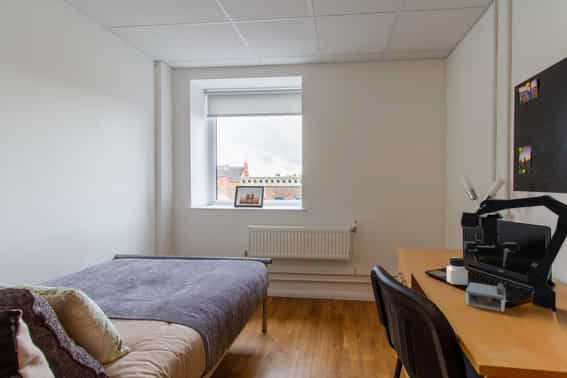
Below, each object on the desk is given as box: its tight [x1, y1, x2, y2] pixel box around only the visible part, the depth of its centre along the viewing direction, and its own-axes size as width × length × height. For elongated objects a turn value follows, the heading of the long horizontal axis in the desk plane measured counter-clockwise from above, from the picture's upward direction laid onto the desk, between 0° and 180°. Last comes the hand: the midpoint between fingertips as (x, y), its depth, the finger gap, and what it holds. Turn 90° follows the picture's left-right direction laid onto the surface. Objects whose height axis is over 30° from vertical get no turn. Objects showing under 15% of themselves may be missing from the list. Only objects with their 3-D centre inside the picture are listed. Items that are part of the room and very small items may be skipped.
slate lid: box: [465, 281, 506, 299], centre depth 123 cm, size 12×12×3 cm
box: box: [465, 292, 506, 313], centre depth 124 cm, size 12×12×5 cm
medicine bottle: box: [446, 256, 469, 286], centre depth 148 cm, size 7×7×12 cm
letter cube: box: [479, 295, 492, 306], centre depth 123 cm, size 4×4×4 cm
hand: (491, 266), depth 133 cm, fingers open, 9 cm apart
